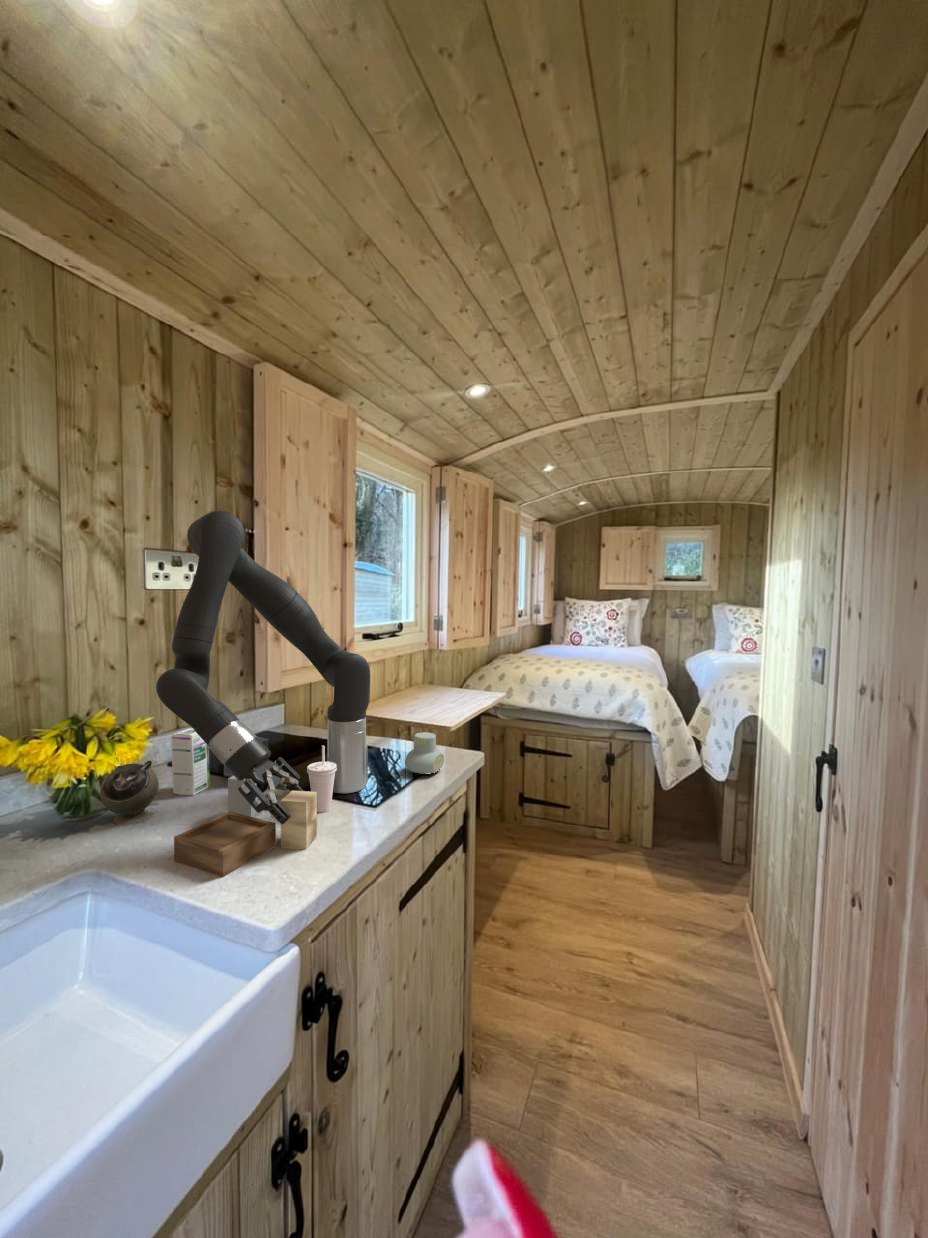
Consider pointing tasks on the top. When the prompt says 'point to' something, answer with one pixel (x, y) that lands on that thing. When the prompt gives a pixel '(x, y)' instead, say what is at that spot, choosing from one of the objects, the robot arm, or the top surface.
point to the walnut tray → (224, 843)
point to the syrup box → (189, 763)
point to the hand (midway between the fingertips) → (297, 811)
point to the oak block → (299, 820)
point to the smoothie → (322, 781)
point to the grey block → (239, 799)
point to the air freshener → (424, 754)
